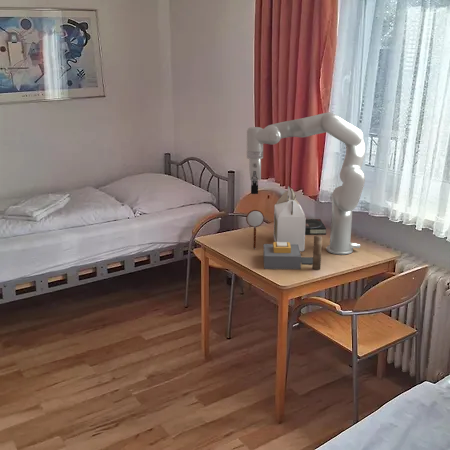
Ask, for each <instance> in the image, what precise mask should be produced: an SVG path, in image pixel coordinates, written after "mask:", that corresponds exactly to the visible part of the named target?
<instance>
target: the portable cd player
mask: <svg viewBox="0 0 450 450" xmlns="http://www.w3.org/2000/svg"><path fill="white" fill-rule="evenodd" d="M312 235H313V236H316V235H319V236H323V235H325V236H326V235H327V226H325V225H324V223H323V221H322V219H321V218H310V219H309V218H306V224H305V236H312Z"/></svg>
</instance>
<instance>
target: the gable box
mask: <svg viewBox="0 0 450 450" xmlns="http://www.w3.org/2000/svg"><path fill="white" fill-rule="evenodd" d="M273 206H274V210H273V212H274V213H273V240H274V241H273V242H290V244H298V246H299V250H300V252H305V242H306V241H305V239H306V235H305V224H306V219H307V216H306V214H305V211H304V210H303V208H302V206H301V204H300V203H299V201H298V200H297V198H296V193H295V191H294V189H293V188H291V187H290V186H289V185H288V187H287V190H285V191H284V192H283V193H282V195H280V197H279V199H277V201H276V203H275V204H274V205H273Z"/></svg>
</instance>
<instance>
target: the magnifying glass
mask: <svg viewBox="0 0 450 450" xmlns="http://www.w3.org/2000/svg"><path fill="white" fill-rule="evenodd" d="M245 220H246V223H247V225H248V226H249V227H251V228H253V244H252V245H253V246H252V247H253V250H256V248H257V228H258V227H260V226H262V225H263V223H264V221H265V217H264V213H263V211H260V210H259V209H253V210H250V211H249V212H248V213H247V215H246V218H245Z"/></svg>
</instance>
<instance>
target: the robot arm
mask: <svg viewBox="0 0 450 450" xmlns="http://www.w3.org/2000/svg"><path fill="white" fill-rule="evenodd" d="M324 133H325V134H326V133H327V134H328V135H330V136H332V137H334V138H335V139H337V140H338V141H340V142H341V143H343V144H345V145H344V146H345V154H344V159H343V162H342V166H341V169H340V172H339V179H340V181H341V182H342V185H339V186H337V187H335V188H334V189H333V191H332V192H331V219H330V220H331V221H330V234H329V235H330V237H329V238H330V239H329V244H328V245H327V246H326V251H327V252H328V253H330V254H334V255H341V256H342V255H349V254H352V253H353V252H354V248H355V249H360V248H361V244H360V243H357V242H352V241H351V236H352V235H351V234H352V222H353V211H354V210H355V209H356V208H357V206H358V205H359V203H360V199H361V196H362V192H363V190H364V186H365V182H366V177H365V173H364V172H363V170H362V167H363V163H364V160H365V159H364V158H365V155H366V144H365V140H364V133H363V131H362V130H361V129H360V128H358V127H356V126H355V125H353V124H352V123H351V122H348V121H346V120H345V119H343V118H342V117H340V116H339V115H337V114H335V113H333V112H324V113H323V112H322V113H319V114H315V115H311V116H306V117H303V118H295V119H292V120H286V121H281V122H277V123H272V124H268V125H267V126H265V127H264V128H262V127H259V126H252V127H248V128H247V130H246V159H248V161H249V162H248V165H249V180H250V182H251V186H250V194H251V195H258V194H259V181H261V180H262V159H264V144H266V145H267V144H268V145H276V144H278V143H279V142H280V141H281V139H284V138H285V139H287V138H293V137H294V138H308V137H311V136H315V135H320V134H321V135H322V134H324Z"/></svg>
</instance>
